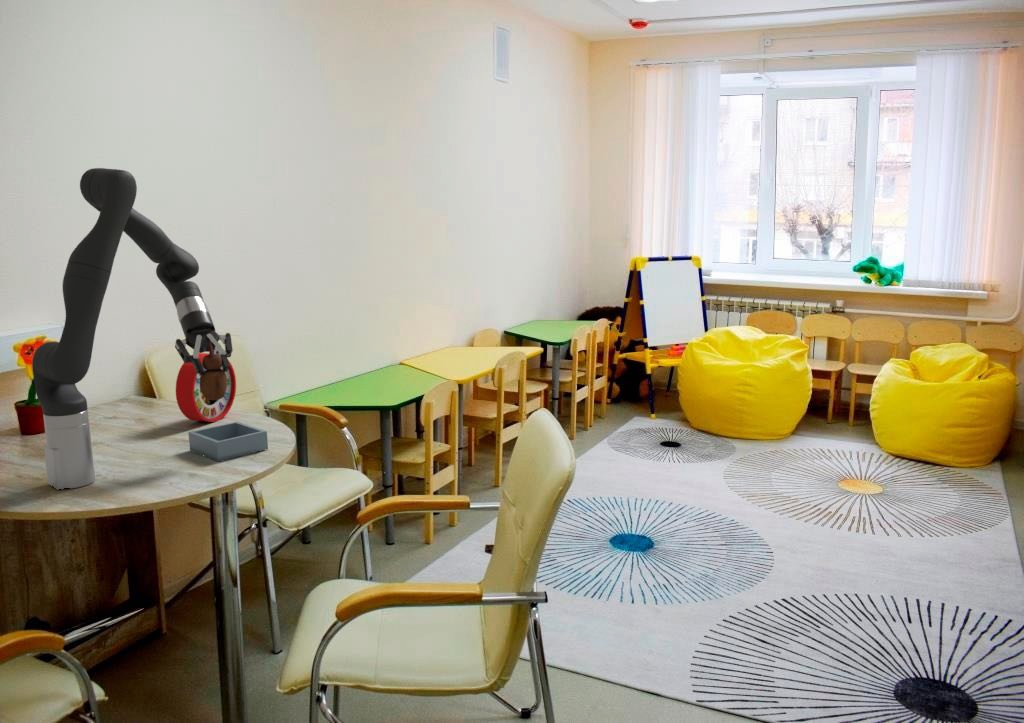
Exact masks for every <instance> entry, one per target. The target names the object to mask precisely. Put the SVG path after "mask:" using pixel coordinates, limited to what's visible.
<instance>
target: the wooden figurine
mask: <svg viewBox="0 0 1024 723" xmlns="http://www.w3.org/2000/svg"><path fill="white" fill-rule="evenodd" d="M208 354H209V355H206V356H204V358H203V361H202V364H203V368H204V369H205V371H204V372H203V375H201V376H200V382H199V384H200V389H201V392H202V394H203V396H204V398H206V399H207V400H219V399H221V398H223V397H224V395H225V393H226V389H227V376H226V373H225V372H224V371H223V370H222V369H220V368H221V367H222V358H221V357H220V356H219V355H216V354H214V350H213V346H212V343H211V342H210V341H209V352H208Z"/></svg>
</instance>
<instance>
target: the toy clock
mask: <svg viewBox="0 0 1024 723" xmlns="http://www.w3.org/2000/svg"><path fill="white" fill-rule="evenodd" d="M206 355H209V353H208V352H207V353H205V352H203V353H199V355H198V359H200V361H201V364H202V361H203V358H204V356H206ZM228 361H229V364H230V365H229V369H228V370H227V372H225V373H226V376H227V389H226V393H225V395H224V397H223V398H221V399H219V400H207V399H206V398H204V396H203V394H202V392H201V389H200V384H199V382H200V376H201V375H199V373H198V374H197V373H196V371H195V368H194V365H193V364H192V363H190V362H188V363H185V362H184V361H183V363H182V364H181V366H180V368H179V371H178V373H177V376H176V381H175V397H176V398H175V399H176V402H177V405H178V408H179V410H180V412H181V414H182V415H183V416H184V417H185V418H187V419H189V420H190V421H196V422H208V423H209V422H211V423H215V421H216V422H219V421H221V420H222V419H223V418H225V417H226V415H227V414H228V413H229V412H230V410H231V408H232V406H233V404H234V401H235V397H236V391H237V378H236V373H235V369H234V368H233V365H232V363H231V361H230V360H229V359H228ZM202 367H203V364H202ZM220 369H222V370H223V368H222V367H221V368H220ZM203 370H204V371H205V369H204V368H203ZM220 419H221V420H220ZM218 420H219V421H218Z"/></svg>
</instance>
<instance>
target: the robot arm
mask: <svg viewBox="0 0 1024 723" xmlns="http://www.w3.org/2000/svg"><path fill="white" fill-rule="evenodd" d="M137 189H138V188H137V181H136V179H135V176H133V174H132V173H131V172H130V171H128V170H124V169H115V168H105V167H94V168H90V169H87V170H86V171H85V172H84V173H83V174H82V176H81V178H80V181H79V190H80V192H81V195H82V197H83V199H84V200H85V201H86V202H87V203H88V204H89V205H90V206H92V208H94V209H95V210H97V211H98V212H99V215H98V218H97V219H96V222H95V224H94V226H93V227H92V229H91V230H90V231H89V232H88V234H86V235H85V237H83V239H81V241H80V242H79V243H78V244H77V245H76V247H75V248H74V249H73V250H72V252H71V254H70V255H69V258H68V261H67V264H66V268H65V271H64V275H63V279H62V296H63V302H64V310H65V320H64V326H63V330H62V333H61V336H60V339H59V341H48V342H44V343H42V344H41V345H40V346H38V347H37V349H36V350H35V351H34V353H33V357H32V360H31V361H32V362H31V363H32V364H31V365H32V367H31V368H32V375H33V376H32V377H33V382H34V388H35V393H36V398H37V401H38V402H39V405H40V406H41V409H42V414H43V415H42V416H43V417H42V418H43V422H44V423H43V425H44V432H45V433H44V434H45V445H43V450H44V451H43V452H44V459H45V460H44V461H45V467H46V468H45V470H46V477H47V485H48V484H49V486H50V485H51V486H50V487H52V486H53V487H54V489H55V488H56V489H55V490H57V491H59V489H61V490H65V489H64V488H70V489H76V488H81V487H85V486H88V485H90V484H92V483H94V482H95V481H96V475H95V473H96V471H95V465H94V464H95V463H94V456H93V447H92V439H91V437H92V436H91V429H90V419H89V418H90V417H89V410H88V401H87V399H86V397H85V395H84V394H82V393H81V392H80V391H79V389H78V388H77V385H76V384H77V383H79V382H81V381H82V380H83V379H84V378H85V377H86V375H87V373H88V372H89V369H90V365H91V361H92V355H93V347H94V343H95V342H94V341H95V335H96V329H97V326H98V321H99V317H100V314H101V309H102V306H103V301H104V298H105V295H106V291H107V288H108V285H109V280H110V277H111V274H112V269H113V267H114V266H113V265H114V261H115V258H116V254H117V251H118V248H119V245H120V241H121V238H122V236H123V232H124V233H125V234H126V235H127V236H128V237H129V238H130V239H131V240H132V241H133V242H134V243H135V244H136V245H137V247H138V248H140V250H141V251H142V252H143V253H144V254H145V255H146V256H147V258H148V259H149V260H150V261H151V262H153V263H155V264H157V266H156V269H155V274H156V277H157V278H158V279H159V281H160V282H161V283H162V284H163V286H164V287H165V288H166V290H167V291H168V292H169V294H170V296H171V298H172V300H173V303H174V305H175V306H174V307H175V309H176V315H177V318H178V322H179V323H180V326H181V330H182V332H183V334H184V337H185V339H180V338H176V340H175V345H174V347H175V349H176V351H177V352H178V355H179V356H180V358H181V360H182V361H183V363H184V362H185V363H188V362H190V363H192V364H193V365H194V368H195V371H196V373H197V374H198V373H199V375H203V372H204V370H203V367H202V364H201V361H200V359H198V355H199V353H205V352H207V353H209V341H210V342H211V343H212V346H213V350H214V354H216V355H219V356H220V357H221V358H222V368H223V371H224V372H227V370H228V369H229V365H230V364H229V362H230V360H229V358H231V357H232V354H233V350H234V349H233V343H232V336H231V333H229V332H226V333H225V334H219V333H218V332H217V331H216V327H215V324H214V322H213V319H212V317H211V314H210V311H209V309H208V306H207V304H206V302H205V300H204V297H203V296H202V292H201V290H200V287H199V285H198V284H197V283H196V282H194V281H190V279H192V278H194V277H195V276H197V275H198V274H199V272H200V266H199V262H198V260H197V259H196V257H194V255H193V254H191V253H190V252H189V251H188V250H185V249H183V248H182V247H181V246H178V245H177V244H176V243H174V242H173V241H172V240H171V239H170V238H169V236H168V235H167V234H166V233H165V232H164V230H162V228H160V227H159V225H158V224H157V223H156V222H153V221H152V220H151V219H150V218H148V217H146V216H145V215H143V214H142V213H141V212H138V211H137V210H136V209H135V208H133V207H134V204H135V200H136V198H137ZM219 341H221V342H222V344H223V345H224V348H223V347H222V345H221V344H220V343H219ZM186 346H188V347H190V348H191V349H192V350H193V352H192V354H190V352H189V351H188V349H187V348H186ZM228 360H229V361H228ZM53 487H52V488H53Z"/></svg>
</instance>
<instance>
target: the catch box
mask: <svg viewBox="0 0 1024 723" xmlns="http://www.w3.org/2000/svg"><path fill="white" fill-rule="evenodd" d="M187 434H188V441H189V442H188V443H189V451H190V450H191V452H193V451H194V452H193V453H195V452H196V453H195V454H198V455H200V454H201V456H203V455H204V456H203V457H205V456H206V458H208V457H209V458H208V459H210V458H211V460H213V461H215V460H216V462H219V461H220V462H223V461H222V460H224V461H227V460H226V459H228V460H231V459H230V458H232V459H235V458H234V457H236V458H238V457H237V456H240V457H242V456H241V455H244V456H246V455H245V454H248V455H251V454H250V453H252V454H255V453H254V452H257V451H261V452H263V451H262V450H265V449H268V450H269V446H268V445H269V444H268V442H269V441H268V431H267V430H264V429H262V428H258V427H255V426H252V425H249V424H246V423H242V422H240V421H234V422H228V423H224V424H220V425H215V426H210V427H206V428H201V429H197V430H192V431H188V433H187ZM265 451H266V450H265ZM257 453H258V452H257Z"/></svg>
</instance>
